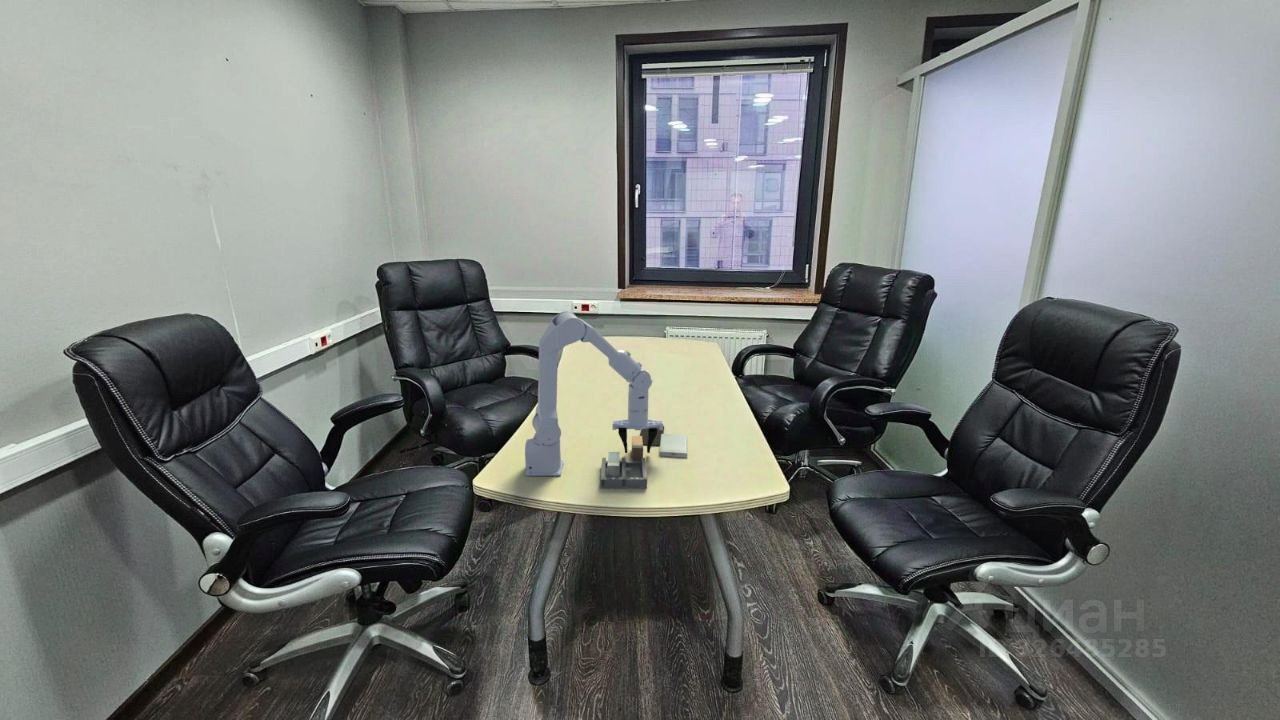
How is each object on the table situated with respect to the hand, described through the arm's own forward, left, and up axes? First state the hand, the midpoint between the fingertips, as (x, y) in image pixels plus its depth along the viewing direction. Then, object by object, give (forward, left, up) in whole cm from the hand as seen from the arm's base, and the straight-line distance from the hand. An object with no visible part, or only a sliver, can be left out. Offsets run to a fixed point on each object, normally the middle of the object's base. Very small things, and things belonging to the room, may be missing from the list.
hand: (637, 451), depth 153 cm
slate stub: (-7, -11, -1) cm, 13 cm away
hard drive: (+11, +6, -2) cm, 13 cm away
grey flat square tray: (-4, -12, -1) cm, 13 cm away
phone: (+5, +14, -2) cm, 15 cm away
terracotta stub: (0, 0, -1) cm, 1 cm away
